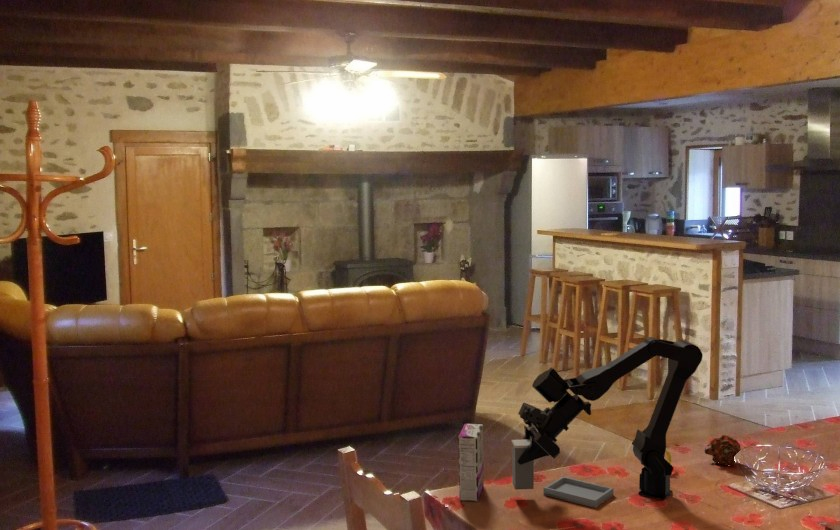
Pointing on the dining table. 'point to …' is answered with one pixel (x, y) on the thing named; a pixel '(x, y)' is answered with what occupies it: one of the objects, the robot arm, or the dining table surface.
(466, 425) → the candy bar box
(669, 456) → the watch
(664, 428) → the robot arm
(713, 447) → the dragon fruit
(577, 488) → the tray
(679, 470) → the dining table surface
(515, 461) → the grey tall block
